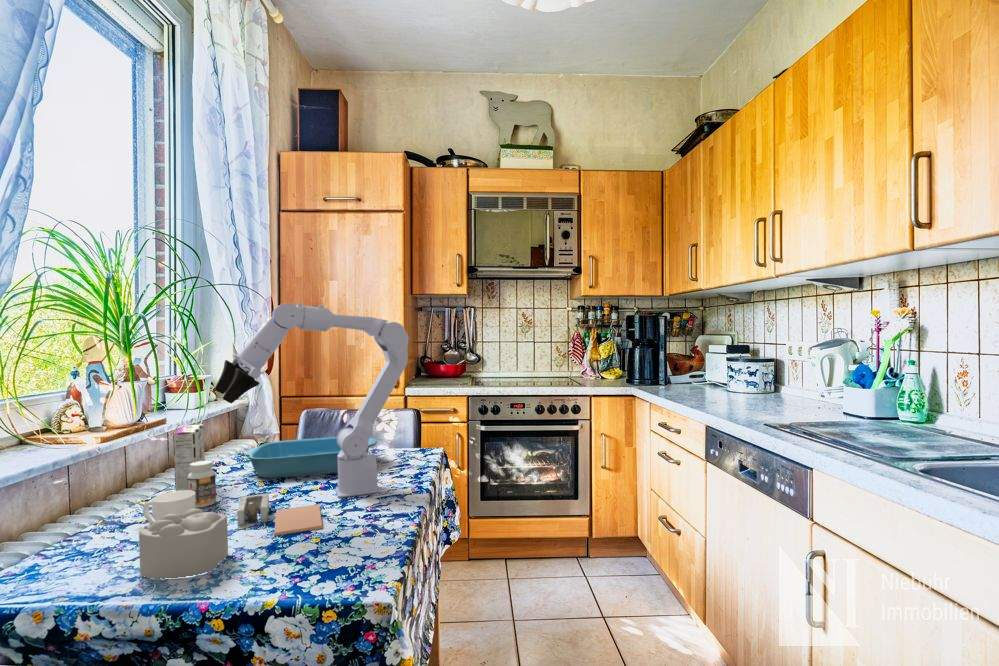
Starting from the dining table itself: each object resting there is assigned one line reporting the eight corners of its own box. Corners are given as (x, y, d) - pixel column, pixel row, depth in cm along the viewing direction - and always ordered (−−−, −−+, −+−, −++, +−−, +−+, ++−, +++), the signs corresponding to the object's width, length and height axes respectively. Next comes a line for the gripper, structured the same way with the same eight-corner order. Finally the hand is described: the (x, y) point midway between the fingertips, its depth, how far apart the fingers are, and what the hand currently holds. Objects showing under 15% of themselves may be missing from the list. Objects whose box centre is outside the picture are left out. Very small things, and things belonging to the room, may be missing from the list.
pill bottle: (203, 509, 118) (202, 466, 118) (182, 508, 119) (180, 465, 119) (221, 501, 123) (220, 460, 123) (201, 500, 125) (199, 459, 124)
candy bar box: (184, 487, 135) (183, 425, 135) (206, 484, 137) (204, 423, 137) (173, 500, 125) (172, 433, 125) (197, 497, 127) (195, 431, 126)
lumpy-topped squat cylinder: (207, 577, 85) (205, 525, 85) (123, 582, 84) (122, 530, 84) (233, 550, 95) (232, 504, 95) (160, 555, 94) (158, 508, 94)
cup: (184, 534, 103) (183, 501, 103) (132, 537, 102) (131, 503, 102) (203, 520, 111) (202, 489, 111) (155, 522, 110) (154, 491, 110)
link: (269, 507, 118) (268, 493, 118) (267, 521, 109) (266, 506, 109) (242, 510, 116) (241, 496, 116) (237, 526, 107) (237, 510, 107)
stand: (257, 519, 111) (257, 500, 111) (257, 522, 109) (256, 503, 109) (248, 520, 110) (248, 502, 110) (248, 523, 108) (247, 504, 108)
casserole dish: (235, 485, 137) (234, 458, 137) (256, 463, 159) (255, 440, 159) (376, 473, 145) (376, 448, 145) (378, 455, 167) (377, 433, 167)
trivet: (319, 506, 118) (318, 504, 118) (322, 528, 105) (322, 525, 105) (276, 512, 114) (276, 510, 114) (274, 535, 101) (274, 532, 101)
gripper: (238, 332, 122) (199, 379, 118) (256, 344, 111) (214, 396, 108) (263, 348, 126) (226, 394, 123) (282, 361, 116) (243, 412, 112)
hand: (222, 396), depth 116 cm, fingers open, 7 cm apart
